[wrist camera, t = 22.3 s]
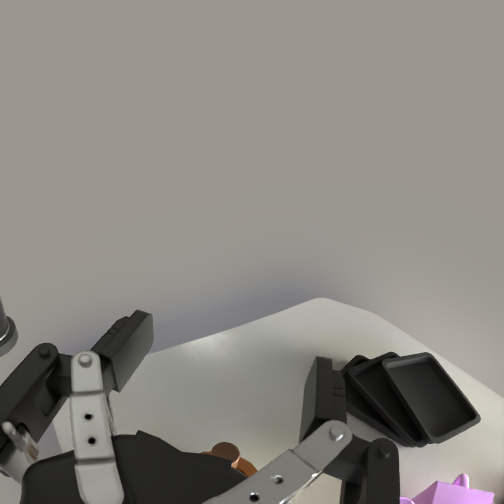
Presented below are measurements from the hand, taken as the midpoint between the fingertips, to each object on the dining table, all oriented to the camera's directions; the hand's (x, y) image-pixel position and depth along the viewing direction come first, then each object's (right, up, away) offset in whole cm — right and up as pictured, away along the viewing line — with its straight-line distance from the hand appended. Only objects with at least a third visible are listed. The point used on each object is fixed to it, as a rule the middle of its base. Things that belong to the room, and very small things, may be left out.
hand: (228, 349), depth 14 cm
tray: (+29, -23, +31) cm, 48 cm away
